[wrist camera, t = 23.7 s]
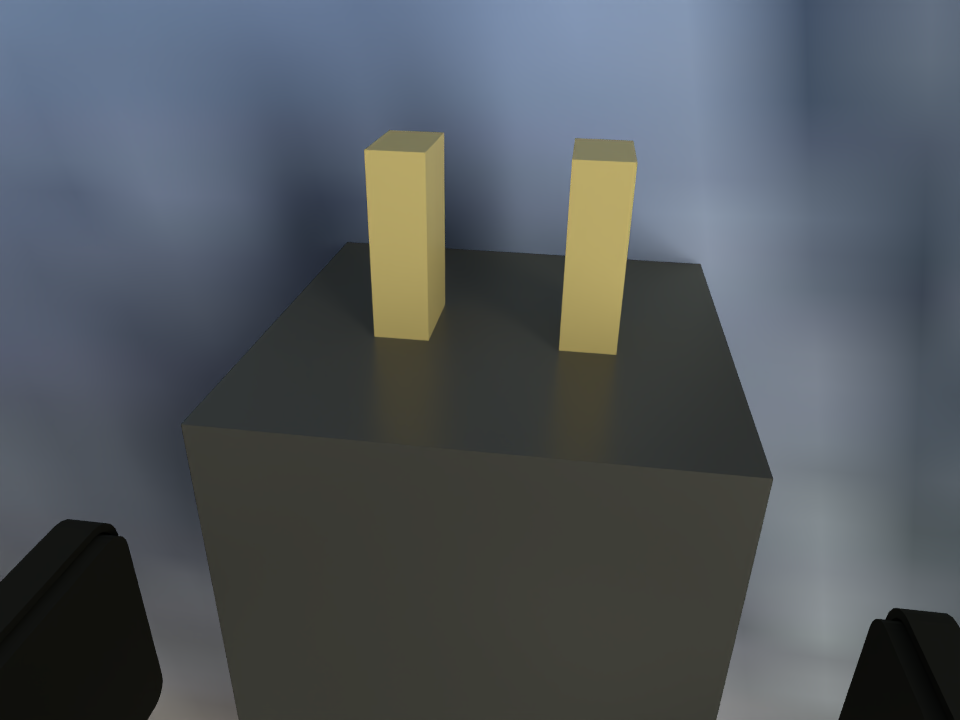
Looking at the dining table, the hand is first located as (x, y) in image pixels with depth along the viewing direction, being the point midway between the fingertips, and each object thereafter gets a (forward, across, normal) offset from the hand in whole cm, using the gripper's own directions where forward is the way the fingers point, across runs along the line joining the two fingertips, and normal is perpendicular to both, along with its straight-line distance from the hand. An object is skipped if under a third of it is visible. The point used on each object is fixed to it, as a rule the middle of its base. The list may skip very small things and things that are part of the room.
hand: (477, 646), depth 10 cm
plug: (+3, 0, +6) cm, 7 cm away
